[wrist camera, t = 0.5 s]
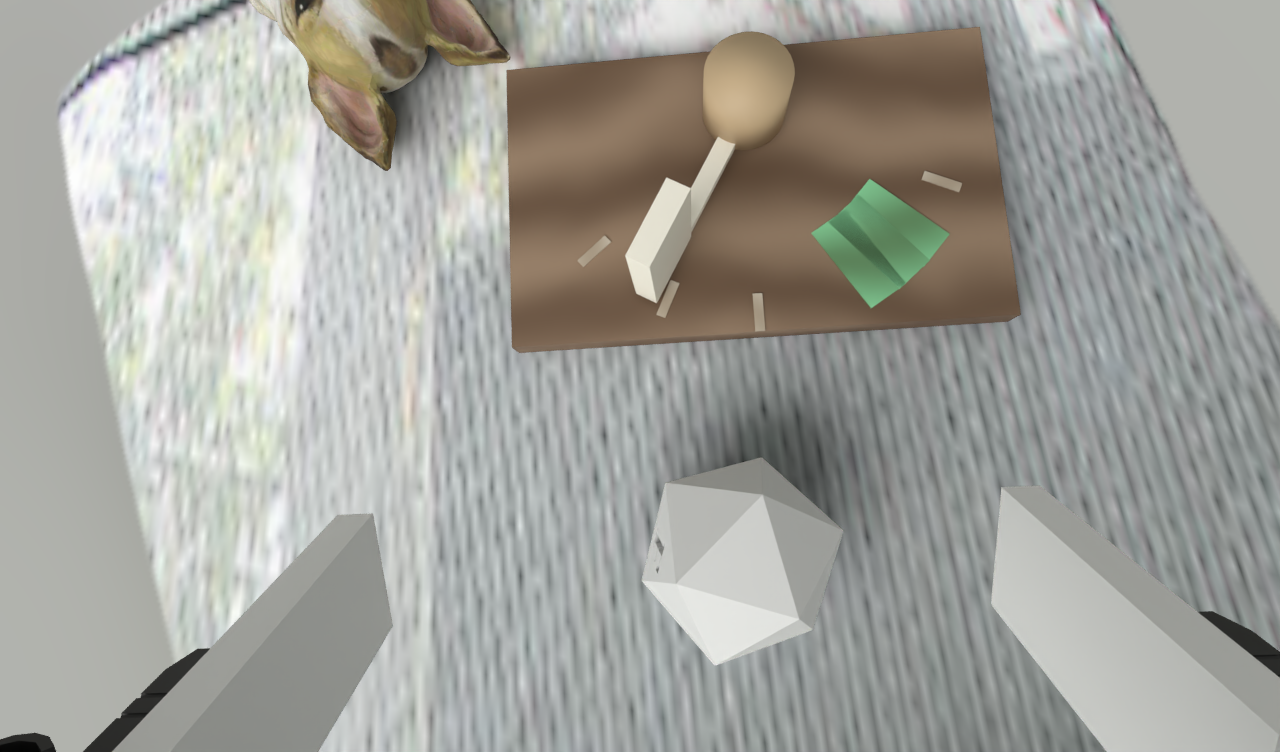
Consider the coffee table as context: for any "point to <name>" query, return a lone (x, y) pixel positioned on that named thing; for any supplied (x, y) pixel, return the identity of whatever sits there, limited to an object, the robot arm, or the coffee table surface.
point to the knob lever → (715, 147)
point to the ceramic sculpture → (376, 56)
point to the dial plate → (762, 198)
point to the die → (740, 558)
